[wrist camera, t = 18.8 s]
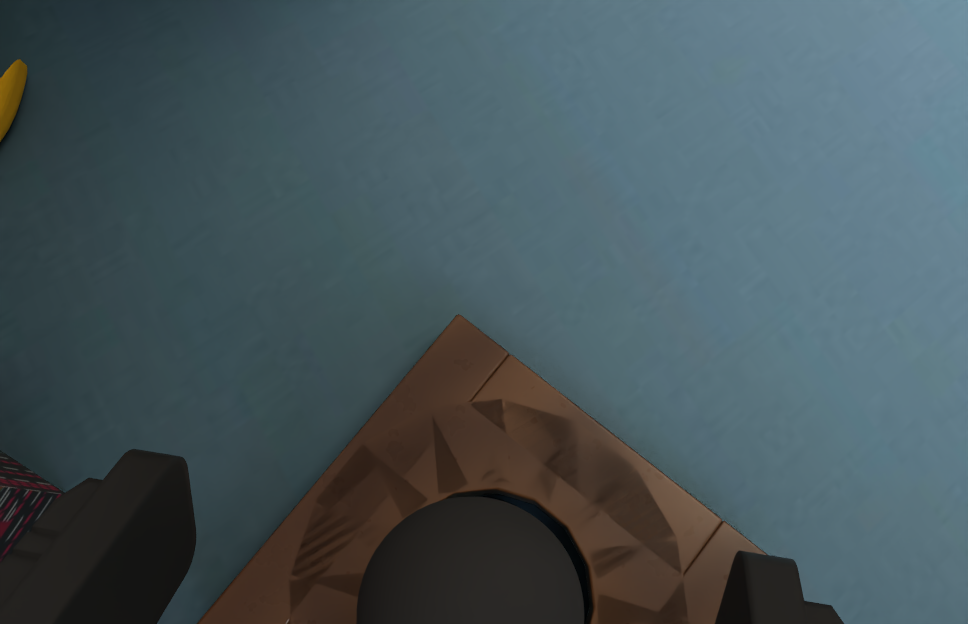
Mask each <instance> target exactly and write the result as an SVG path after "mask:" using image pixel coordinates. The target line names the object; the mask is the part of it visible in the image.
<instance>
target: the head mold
mask: <svg viewBox="0 0 968 624" xmlns="http://www.w3.org/2000/svg"><path fill="white" fill-rule="evenodd" d="M357 624H584V602H583V595H582V590H581V585H580V582H579V579H578V575H577V572H576V570H575V567H574V565H573V563H572V561H571V559H570V557H569V555H568V553H567V552H566V550H565V549H564V547H563V545H562V544H561V543H560V541H559V540H558V539H557V538H556V536H555V535H554V534H553V533H552V532H551V531H550V530H549V529H548V528H547V527H546V526H545V525H544V524H543V523H542V522H541V521H539V520H538V519H537V518H535V517H534V516H532V515H531V514H530V513H528V512H526V511H524V510H522V509H521V508H519V507H517V506H514V505H512V504H509V503H507V502H504V501H500V500H496V499H492V498H486V497H476V496H472V497H456V498H450V499H445V500H442V501H438V502H435V503H432V504H430V505H427V506H425V507H423V508H421V509H419V510H417V511H415V512H414V513H412V514H411V515H409V516H408V517H406V518H405V519H403V520H402V521H401V522H400V523H399V524H398V525H396V526H395V527H394V528H393V529H392V530H391V531H390V532H389V533H388V534H387V536H386V537H385V538H384V539H383V540H382V542H381V543H380V545H379V546H378V547H377V549H376V550H375V552H374V554H373V556H372V557H371V559H370V561H369V563H368V565H367V568H366V570H365V573H364V576H363V578H362V582H361V586H360V590H359V594H358V602H357Z"/></svg>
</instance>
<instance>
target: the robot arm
mask: <svg viewBox="0 0 968 624" xmlns="http://www.w3.org/2000/svg"><path fill="white" fill-rule="evenodd" d="M195 545H196V527H195V519H194V511H193V504H192V496H191V488H190V481H189V473H188V467H187V463H186V461H185V459H184V458H182V457H180V456H173V455H167V454H161V453H155V452H149V451H143V450H137V449H132V450H129V451H128V452H126V453H125V454H124V455H123V456H122V457H121V459H120V460H119V461H118V462H117V464H116V465H115V466H114V467H113V468H112V470H111V471H110V472H109V473H108V475H107V476H106V477H105V478H104V479H103V480H99V479H93V478H88V479H86V480H85V481H83V482H82V483H80V484H78V485H77V486H75V487H74V488H72V489H71V490H69V491H67V492H66V493H64V494H63V495H61V496H60V497H58V498H57V499H55V500H54V501H53V502H52V504H51V505H50V506H49V507H48V508H47V509H46V511H45V512H44V513H43V514H42V515H41V516H40V518H39V519H38V520H37V521H36V522H35V523H34V525H33V526H32V530H31V532H27V533H26V534H25V535H24V536H23V537H22V538H21V540H20V541H19V542H18V543H17V544H16V545H15V547H14V548H13V552H12V554H11V555H9V554H8V555H7V556H6V557H5V558H4V559H3V561H2V562H1V563H0V624H157V622H158V620H159V619H160V617H161V615H162V614H163V612H164V610H165V609H166V607H167V606H168V604H169V602H170V601H171V599H172V597H173V596H174V594H175V592H176V591H177V589H178V587H179V586H180V584H181V582H182V581H183V579H184V577H185V576H186V574H187V572H188V570H189V567H190V565H191V562H192V559H193V555H194V551H195ZM715 624H844V623H843V622H842V620H841V619H840V617H839V616H838V614H837V613H836V611H835V610H834V609H833V607H832V606H831V605H825V604H819V603H814V602H808V601H804V598H803V593H802V588H801V583H800V578H799V573H798V568H797V565H796V563H795V561H794V560H793V559H788V558H782V557H776V556H770V555H764V554H757V553H751V552H745V551H738V552H737V553H736V555H735V557H734V560H733V563H732V566H731V570H730V573H729V577H728V580H727V584H726V587H725V590H724V594H723V597H722V601H721V604H720V608H719V611H718V614H717V618H716V621H715Z"/></svg>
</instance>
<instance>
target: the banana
mask: <svg viewBox="0 0 968 624" xmlns="http://www.w3.org/2000/svg"><path fill="white" fill-rule="evenodd" d="M26 77H27V66H26V65H25V64H24V63H23V62H22V61H21V60H20V59H19V60H16V61H15V62H14V63H13V64H12V65H11V66H10V67H9V69H8V70H7V71H6V72H5V73H4V75H3V76H2V78H0V142H1V140H2V139H3V137H4V136H5V134H6V133H7V131H8V129H9V128H10V126H11V124H12V121H13V119H14V117H15V115H16V112H17V110H18V107H19V104H20V102H21V98H22V94H23V90H24V87H25V82H26Z"/></svg>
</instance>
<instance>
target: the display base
mask: <svg viewBox="0 0 968 624" xmlns="http://www.w3.org/2000/svg"><path fill="white" fill-rule="evenodd" d="M491 494H501V495H504V496H508V497H511V498H514V499H518V500H521V501H524V502H527V503H531V504H534V505H536V506H537V507H538V508H539V509H541V510H542V511H543V512H544V513H546V514H547V515H548V516H549V517H550V518H552V519H553V520H554V521H555V522H556V523H558V524H559V525H560V526H561V527H563V528H564V529H565V530H566V532H567V534H568V536H569V538H570V539H571V541H572V543H573V545H574V547H575V549H576V550H577V552H578V554H579V556H580V558H581V560H582V561H583V563H584V565H585V573H586V581H587V589H588V597H589V605H590V606H589V610H588V614H587V618H586V622H585V624H715V621H716V618H717V614H718V611H719V608H720V604H721V601H722V597H723V594H724V590H725V587H726V584H727V580H728V577H729V573H730V570H731V566H732V563H733V560H734V557H735V555H736V553H737V552H738V551H745V552H751V553H757V554H764V555H767V554H766V553H765V552H764V551H762V550H761V549H760V548H758V547H757V546H756V545H755V544H753V543H752V542H751V541H750V540H748V539H747V538H746V537H744V536H743V535H742V534H741V533H739V532H738V531H737V530H735V529H734V528H733V527H732V526H730V525H729V524H728V523H727V522H725V521H722V519H721V518H720V517H719V516H717V515H716V514H715V513H714V512H712V511H711V510H710V509H708V508H707V507H706V506H705V505H703V504H702V503H701V502H699V501H698V500H697V499H696V498H694V497H693V496H692V495H691V494H689V493H688V492H687V491H685V490H684V489H683V488H682V487H680V486H679V485H678V484H676V483H675V482H674V481H673V480H671V479H670V478H669V477H667V476H666V475H665V474H664V473H662V472H661V471H660V470H659V469H657V468H656V467H655V466H653V465H652V464H651V463H650V462H648V461H647V460H646V459H644V458H643V457H642V456H641V455H639V454H638V453H637V452H635V451H634V450H633V449H632V448H630V447H629V446H628V445H627V444H625V443H624V442H623V441H621V440H620V439H619V438H618V437H616V436H615V435H614V434H612V433H611V432H610V431H609V430H607V429H606V428H605V427H604V426H602V425H601V424H600V423H598V422H597V421H596V420H595V419H593V418H592V417H591V416H589V415H588V414H587V413H586V412H584V411H583V410H582V409H580V408H579V407H578V406H577V405H575V404H574V403H573V402H572V401H570V400H569V399H568V398H566V397H565V396H564V395H563V394H561V393H560V392H559V391H557V390H556V389H555V388H554V387H552V386H551V385H550V384H548V383H547V382H546V381H545V380H543V379H542V378H541V377H540V376H538V375H537V374H536V373H534V372H533V371H532V370H531V369H529V368H528V367H527V366H525V365H524V364H523V363H522V362H520V361H519V360H518V359H516V358H515V357H514V356H513V355H509V353H508V352H507V351H506V350H505V349H504V348H502V347H501V346H500V345H498V344H497V343H496V342H495V341H493V340H492V339H491V338H489V337H488V336H487V335H486V334H484V333H483V332H482V331H481V330H479V329H478V328H477V327H475V326H474V325H473V324H472V323H470V322H469V321H468V320H466V319H465V318H464V317H463V316H461V315H459V314H458V315H456V317H455V318H454V319H453V320H452V321H451V322H450V324H449V325H448V326H447V327H446V328H445V330H444V331H443V332H442V333H441V334H440V336H439V337H438V338H437V339H436V340H435V341H434V343H433V344H432V345H431V346H430V347H429V349H428V350H427V351H426V352H425V353H424V355H423V356H422V357H421V358H420V359H419V360H418V362H417V363H416V364H415V365H414V366H413V368H412V369H411V370H410V371H409V372H408V374H407V375H406V376H405V377H404V378H403V379H402V381H401V382H400V383H399V384H398V385H397V387H396V388H395V389H394V390H393V391H392V393H391V394H390V395H389V396H388V397H387V398H386V400H385V401H384V402H383V403H382V404H381V406H380V407H379V408H378V409H377V410H376V411H375V413H374V414H373V415H372V416H371V417H370V419H369V420H368V421H367V422H366V423H365V425H364V426H363V427H362V428H361V429H360V430H359V432H358V433H357V434H356V435H355V436H354V438H353V439H352V440H351V441H350V442H349V444H348V445H347V446H346V447H345V448H344V449H343V451H342V452H341V453H340V454H339V455H338V457H337V458H336V459H335V460H334V461H333V463H332V464H331V465H330V466H329V467H328V468H327V470H326V471H325V472H324V473H323V474H322V476H321V477H320V478H319V479H318V480H317V482H316V483H315V484H314V485H313V486H312V487H311V489H310V490H309V491H308V492H307V493H306V495H305V496H304V497H303V498H302V499H301V501H300V502H299V503H298V504H297V505H296V506H295V508H294V509H293V510H292V511H291V512H290V514H289V515H288V516H287V517H286V518H285V520H284V521H283V522H282V523H281V524H280V525H279V527H278V528H277V529H276V530H275V531H274V533H273V534H272V535H271V536H270V537H269V539H268V540H267V541H266V542H265V543H264V544H263V546H262V547H261V548H260V549H259V550H258V552H257V553H256V554H255V555H254V556H253V558H252V559H251V560H250V561H249V562H248V563H247V565H246V566H245V567H244V568H243V569H242V571H241V572H240V573H239V574H238V575H237V577H236V578H235V579H234V580H233V581H232V582H231V584H230V585H229V586H228V587H227V588H226V590H225V591H224V592H223V593H222V594H221V596H220V597H219V598H218V599H217V600H216V601H215V603H214V604H213V605H212V606H211V607H210V609H209V610H208V611H207V612H206V613H205V614H204V616H203V617H202V618H201V619H200V620H199V622H198V623H197V624H357V602H358V594H359V590H360V586H361V582H362V578H363V576H364V573H365V570H366V568H367V565H368V563H369V561H370V559H371V557H372V556H373V554H374V552H375V550H376V549H377V547H378V546H379V545H380V543H381V542H382V540H383V539H384V538H385V537H386V536H387V534H388V533H389V532H390V531H391V530H392V529H393V528H394V527H395V526H396V525H398V524H399V523H400V522H401V521H402V520H403V519H405V518H406V517H408V516H409V515H411V514H412V513H414V512H415V511H417V510H419V509H421V508H423V507H425V506H427V505H430V504H432V503H435V502H438V501H442V500H445V499H450V498H456V497H472V496H481V495H491Z"/></svg>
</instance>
